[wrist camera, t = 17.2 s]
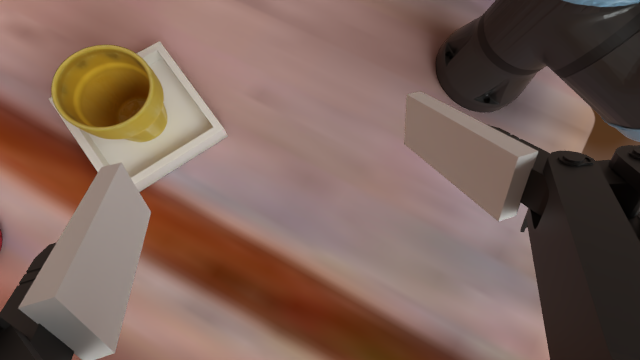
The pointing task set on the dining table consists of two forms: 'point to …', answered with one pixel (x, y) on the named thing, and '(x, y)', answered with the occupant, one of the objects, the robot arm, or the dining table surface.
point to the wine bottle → (0, 239)
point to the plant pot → (110, 94)
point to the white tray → (173, 143)
